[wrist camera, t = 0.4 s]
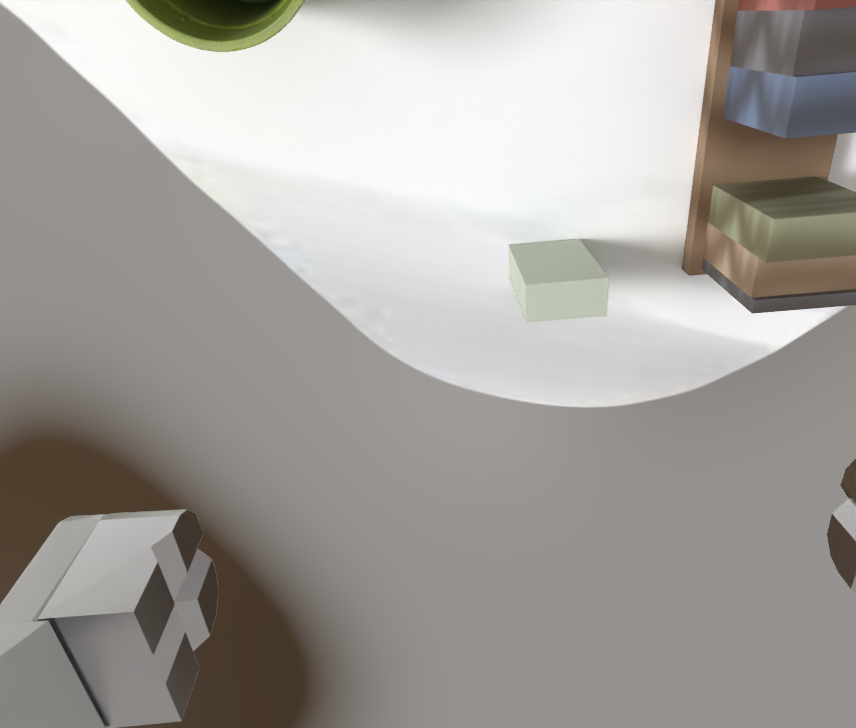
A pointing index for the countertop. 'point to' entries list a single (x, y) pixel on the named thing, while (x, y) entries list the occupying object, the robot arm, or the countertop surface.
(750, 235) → the book rack
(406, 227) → the countertop surface
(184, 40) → the plant pot
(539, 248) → the pale green box
